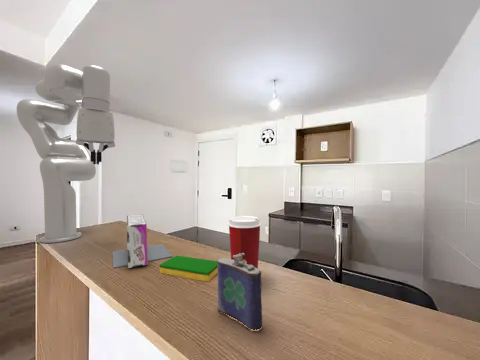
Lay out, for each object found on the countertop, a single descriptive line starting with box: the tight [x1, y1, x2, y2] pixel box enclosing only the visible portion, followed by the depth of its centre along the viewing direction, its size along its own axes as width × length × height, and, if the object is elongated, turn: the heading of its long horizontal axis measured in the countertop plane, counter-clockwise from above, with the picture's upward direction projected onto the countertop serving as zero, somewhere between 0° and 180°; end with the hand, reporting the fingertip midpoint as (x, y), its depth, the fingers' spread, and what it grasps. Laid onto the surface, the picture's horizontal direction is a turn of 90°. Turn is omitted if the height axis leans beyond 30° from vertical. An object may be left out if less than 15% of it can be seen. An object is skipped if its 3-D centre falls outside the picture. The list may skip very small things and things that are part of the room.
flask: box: [216, 253, 263, 330], centre depth 37 cm, size 9×3×11 cm, turn 48°
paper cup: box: [226, 215, 262, 269], centre depth 50 cm, size 8×8×14 cm
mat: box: [111, 243, 173, 269], centre depth 67 cm, size 14×15×1 cm
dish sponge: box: [158, 255, 218, 282], centre depth 55 cm, size 7×14×2 cm, turn 69°
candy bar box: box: [126, 214, 149, 269], centre depth 64 cm, size 11×5×16 cm
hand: (96, 164), depth 72 cm, fingers closed
